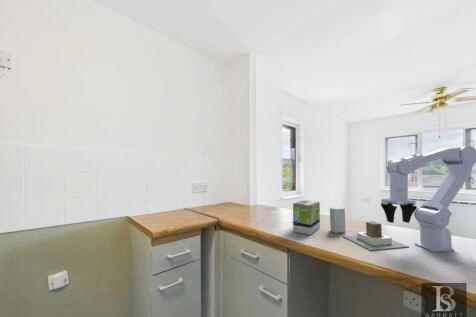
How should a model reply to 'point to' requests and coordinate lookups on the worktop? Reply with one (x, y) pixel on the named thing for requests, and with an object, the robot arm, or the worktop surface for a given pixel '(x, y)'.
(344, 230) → the skincare box
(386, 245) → the socket board
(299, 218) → the tea box
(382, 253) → the worktop surface
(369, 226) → the walnut peg
